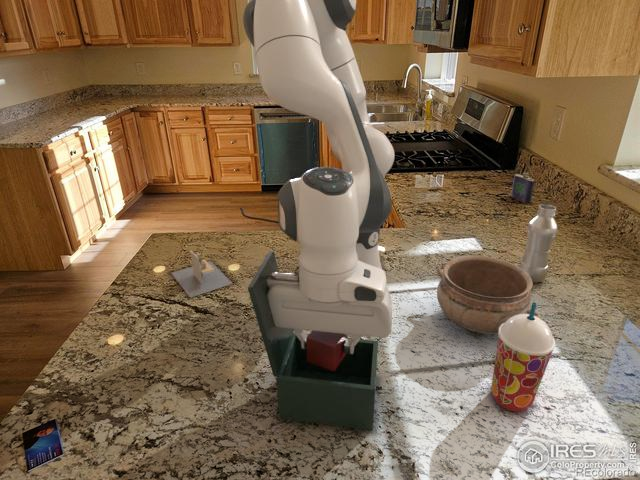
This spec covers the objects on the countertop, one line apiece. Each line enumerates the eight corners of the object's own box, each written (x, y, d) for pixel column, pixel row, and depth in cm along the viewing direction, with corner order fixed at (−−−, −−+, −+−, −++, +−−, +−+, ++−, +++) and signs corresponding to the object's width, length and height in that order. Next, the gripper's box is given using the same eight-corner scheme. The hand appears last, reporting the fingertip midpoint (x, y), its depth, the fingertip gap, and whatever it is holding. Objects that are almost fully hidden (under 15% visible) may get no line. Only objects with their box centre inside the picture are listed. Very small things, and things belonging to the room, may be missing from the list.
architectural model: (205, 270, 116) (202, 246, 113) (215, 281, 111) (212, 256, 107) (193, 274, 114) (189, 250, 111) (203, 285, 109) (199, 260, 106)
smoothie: (494, 375, 79) (515, 283, 71) (542, 396, 75) (570, 300, 66) (478, 402, 74) (497, 306, 65) (528, 427, 69) (557, 327, 60)
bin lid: (273, 250, 70) (269, 250, 71) (252, 287, 60) (247, 287, 60) (294, 330, 77) (289, 330, 77) (278, 376, 67) (273, 376, 67)
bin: (376, 378, 79) (378, 340, 75) (372, 430, 68) (375, 389, 65) (293, 369, 81) (292, 332, 77) (278, 418, 71) (275, 378, 67)
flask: (508, 196, 166) (513, 169, 162) (514, 195, 167) (520, 169, 162) (526, 204, 158) (532, 176, 154) (532, 203, 159) (539, 175, 155)
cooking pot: (406, 310, 98) (410, 263, 93) (460, 285, 108) (467, 242, 103) (501, 373, 80) (513, 320, 74) (556, 336, 89) (570, 287, 84)
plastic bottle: (548, 286, 107) (567, 213, 98) (519, 284, 108) (536, 211, 99) (541, 274, 112) (559, 203, 104) (514, 271, 114) (529, 201, 105)
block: (306, 361, 70) (306, 337, 68) (321, 344, 74) (320, 320, 72) (334, 371, 68) (334, 346, 66) (347, 352, 72) (347, 328, 70)
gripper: (255, 282, 63) (262, 355, 69) (395, 294, 60) (389, 369, 66) (267, 261, 69) (272, 330, 75) (395, 271, 65) (389, 343, 71)
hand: (328, 349), depth 70 cm, fingers closed on block, 6 cm apart
